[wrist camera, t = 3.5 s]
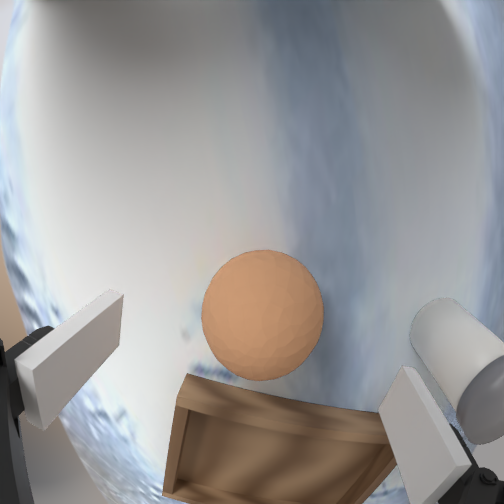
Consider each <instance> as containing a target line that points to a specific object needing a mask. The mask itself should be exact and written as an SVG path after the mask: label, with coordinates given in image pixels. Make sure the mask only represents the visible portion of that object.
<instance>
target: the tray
mask: <svg viewBox="0 0 504 504" xmlns="http://www.w3.org/2000/svg"><path fill="white" fill-rule="evenodd" d="M396 465H397V462H396V459H395V456H394V453H393V450H392V447H391V445H390V442H389V439H388V436H387V433H386V431H385V428H384V425H383V422H382V420H381V417H380V414H379V413H374V412H366V411H358V410H350V409H343V408H337V407H330V406H324V405H318V404H312V403H307V402H302V401H296V400H291V399H286V398H281V397H277V396H272V395H268V394H263V393H259V392H254V391H250V390H246V389H242V388H238V387H234V386H230V385H226V384H223V383H219V382H215V381H212V380H208V379H205V378H201V377H198V376H194V375H191V374H188V373H187V375H186V377H185V379H184V382H183V384H182V386H181V388H180V391H179V393H178V395H177V400H176V406H175V412H174V418H173V424H172V430H171V436H170V443H169V450H168V456H167V463H166V470H165V477H164V484H163V492H162V496H165V497H168V498H171V499H175V500H178V501H182V502H185V503H189V504H362V503H363V502H364V501H365V500H366V499H367V498H368V497H369V496H370V495H371V494H372V493H373V492H374V490H375V489H376V488H377V487H378V486H379V485H380V484H381V483H382V482H383V480H384V479H385V478H386V477H387V476H388V475H389V473H390V472H391V471H392V470H393V469H394V468H395V466H396Z"/></svg>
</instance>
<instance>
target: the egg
mask: <svg viewBox="0 0 504 504" xmlns="http://www.w3.org/2000/svg"><path fill="white" fill-rule="evenodd" d="M323 313H324V306H323V301H322V296H321V292H320V290H319V287H318V285H317V283H316V281H315V279H314V278H313V276H312V275H311V273H310V272H309V271H308V270H307V268H306V267H305V266H304V265H302V264H301V263H300V262H299V261H298V260H296V259H294V258H292V257H290V256H288V255H286V254H284V253H281V252H276V251H271V250H257V251H251V252H246V253H243V254H241V255H239V256H237V257H235V258H233V259H231V260H230V261H229V262H227V263H226V264H225V265H224V266H222V267H221V269H220V270H219V271H218V272H217V273H216V274H215V276H214V277H213V278H212V280H211V282H210V284H209V286H208V289H207V291H206V293H205V296H204V300H203V304H202V317H201V319H202V326H203V332H204V335H205V337H206V340H207V342H208V344H209V347H210V349H211V350H212V352H213V354H214V355H215V357H216V359H217V360H218V361H219V362H220V363H221V364H223V365H224V366H225V367H226V368H227V369H228V370H229V371H231V372H232V373H234V374H236V375H237V376H240V377H242V378H245V379H248V380H255V381H264V380H272V379H276V378H279V377H281V376H284V375H287V374H289V373H290V372H292V371H293V370H295V369H296V368H297V367H299V366H300V365H301V364H302V363H303V362H304V361H305V360H306V358H307V357H308V356H309V355H310V353H311V352H312V350H313V349H314V347H315V346H316V344H317V343H318V340H319V337H320V334H321V331H322V325H323Z"/></svg>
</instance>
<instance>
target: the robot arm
mask: <svg viewBox="0 0 504 504" xmlns="http://www.w3.org/2000/svg"><path fill="white" fill-rule="evenodd" d="M123 297H124V294H121V293H118V292H115V291H113V290H110V289H109V290H108V291H106V292H105V293H103V294H102V295H100V296H99V297H98V298H96V299H95V300H93V301H92V302H91V303H89V304H88V305H86V306H85V307H84V308H82V309H81V310H80V311H78V312H77V313H75V314H74V315H73V316H71V317H70V318H69V319H67V320H66V321H64V322H63V323H62V324H60V325H59V326H58V327H56V328H55V329H54V328H52V327H50V326H46V327H42V328H39V329H37V330H35V331H34V332H32V333H31V334H30V335H29V336H27V337H25V338H24V339H23V340H22V341H20V342H19V343H17V344H16V345H14V346H13V347H12V348H10V349H9V350H7V351H6V352H4V346H3V341H2V340H1V339H0V504H34V500H33V496H32V492H31V488H30V483H29V478H28V473H27V468H26V462H25V456H24V450H23V443H22V435H21V427H20V420H19V415H20V414H21V413H22V411H25V415H26V418H27V421H28V422H30V423H31V424H33V425H35V426H36V427H38V428H40V429H41V430H43V431H45V429H46V428H47V427H48V426H49V425H50V423H51V422H52V421H53V420H54V419H55V418H56V416H57V415H58V414H59V413H60V412H61V411H62V409H63V408H64V407H65V406H66V405H67V404H68V402H69V401H70V400H71V399H72V398H73V397H74V396H75V394H76V393H77V392H78V391H79V390H80V389H81V387H82V386H83V385H84V384H85V383H86V382H87V381H88V380H89V378H90V377H91V376H92V375H93V374H94V373H95V372H96V370H97V369H98V368H99V367H100V366H101V365H102V364H103V363H104V362H105V360H106V359H107V358H108V357H109V356H110V355H111V354H112V353H113V351H114V350H115V349H116V348H117V347H118V346H119V340H120V328H121V316H122V306H123ZM378 411H379V414H380V417H381V420H382V422H383V425H384V428H385V431H386V433H387V436H388V439H389V442H390V445H391V447H392V450H393V453H394V456H395V459H396V462H397V465H398V468H399V471H400V474H401V477H402V480H403V483H404V486H405V489H406V492H407V495H408V498H409V502H410V504H435V503H437V502H438V503H439V504H504V481H500V480H498V478H497V476H496V474H495V473H494V472H493V471H491V470H490V469H487V468H479V467H478V465H477V463H476V461H475V459H474V458H473V456H472V454H471V452H470V451H469V449H468V447H466V444H465V442H464V440H462V439H463V438H462V437H461V435H460V433H459V432H458V430H457V429H456V428H455V427H454V426H453V425H452V424H450V423H448V421H447V420H446V418H445V416H444V414H443V413H442V411H441V409H440V408H439V406H438V404H437V403H436V401H435V400H434V398H433V396H432V395H431V393H430V391H429V390H428V388H427V387H426V385H425V383H424V382H423V380H422V379H421V377H420V375H419V374H418V372H417V371H416V369H415V368H413V367H407V366H401V368H400V370H399V372H398V374H397V376H396V378H395V380H394V382H393V383H392V385H391V387H390V389H389V391H388V393H387V394H386V396H385V398H384V400H383V402H382V403H381V405H380V407H379V408H378Z"/></svg>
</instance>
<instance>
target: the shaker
mask: <svg viewBox="0 0 504 504" xmlns="http://www.w3.org/2000/svg"><path fill="white" fill-rule="evenodd" d="M410 341H411V344H412V346H413V348H414V349H415V351H416V352H417V353H418V355H419V356H420V358H421V359H422V361H423V362H424V364H425V365H426V367H427V368H428V370H429V371H430V373H431V374H432V376H433V377H434V379H435V380H436V382H437V383H438V385H439V386H440V388H441V390H442V391H443V393H444V394H445V396H446V397H447V399H448V400H449V402H450V404H451V405H452V407H453V408H454V410H455V412H456V419H457V421H458V423H459V425H460V427H461V428H462V430H463V432H464V433H465V435H466V437H467V438H468V440H469V441H470V442H471V443H473V444H476V445H481V444H486V443H489V442H492V441H494V440H496V439H498V438H500V437H502V436H503V435H504V343H503V342H502V341H501V340H500V339H499V338H498V337H497V336H496V335H495V334H493V333H492V332H491V331H490V330H489V329H488V328H487V327H486V326H484V325H483V324H482V323H481V322H480V321H479V320H477V319H476V318H475V317H474V316H473V315H472V314H470V313H469V312H468V311H467V310H466V309H464V308H463V307H462V306H461V305H460V304H458V303H457V302H456V301H455V300H453V299H450V298H439V299H436V300H433V301H431V302H430V303H428V304H427V305H425V306H424V307H423V308H422V309H421V310H420V311H419V312H418V314H417V315H416V317H415V318H414V320H413V323H412V325H411V329H410Z"/></svg>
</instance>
